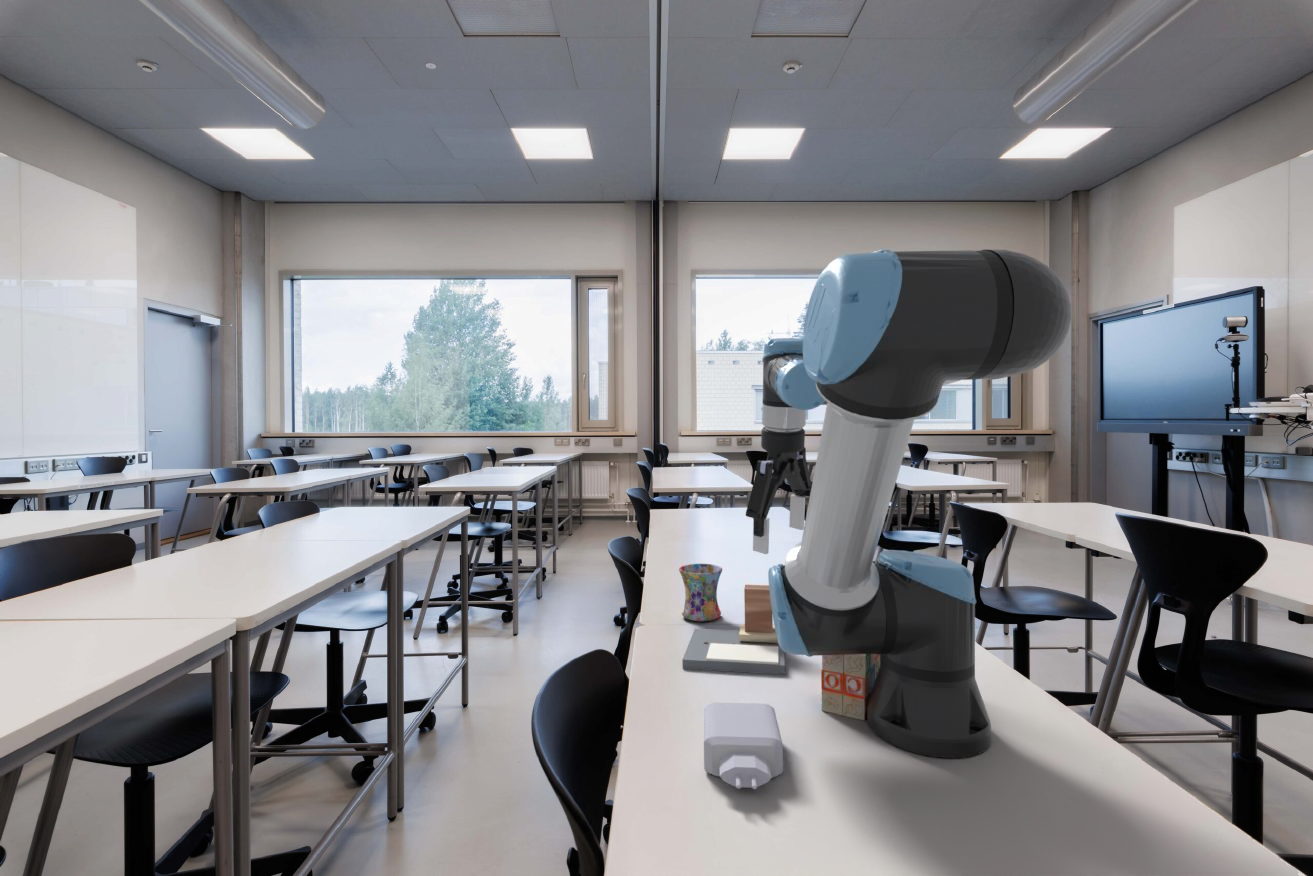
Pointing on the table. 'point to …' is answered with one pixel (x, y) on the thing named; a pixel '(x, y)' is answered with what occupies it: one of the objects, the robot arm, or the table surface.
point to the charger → (742, 743)
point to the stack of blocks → (848, 683)
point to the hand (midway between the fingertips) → (779, 539)
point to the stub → (758, 615)
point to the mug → (701, 591)
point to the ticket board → (732, 653)
